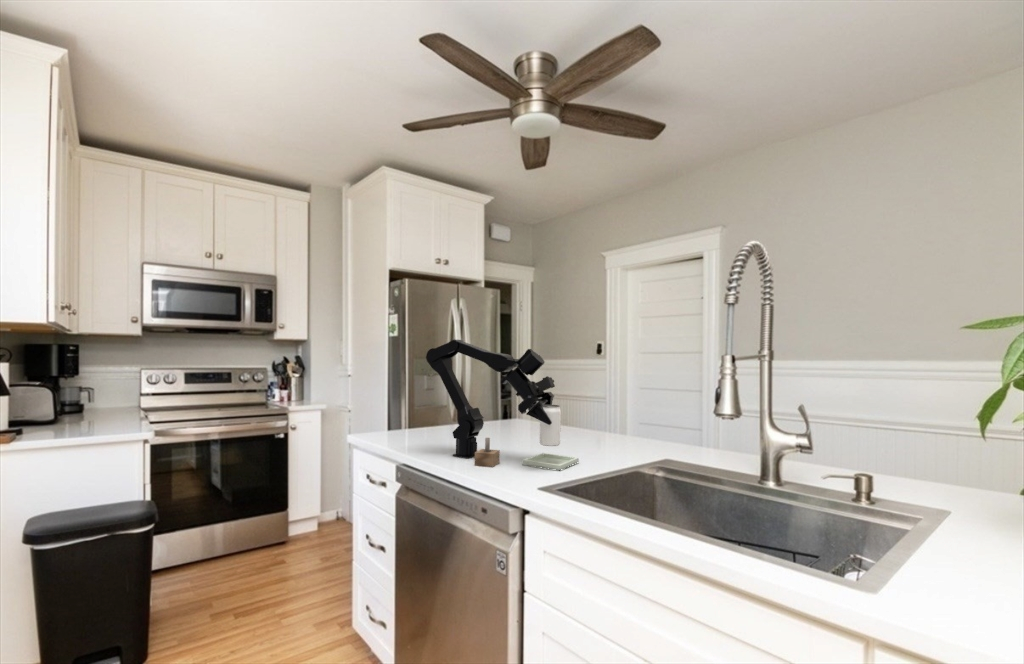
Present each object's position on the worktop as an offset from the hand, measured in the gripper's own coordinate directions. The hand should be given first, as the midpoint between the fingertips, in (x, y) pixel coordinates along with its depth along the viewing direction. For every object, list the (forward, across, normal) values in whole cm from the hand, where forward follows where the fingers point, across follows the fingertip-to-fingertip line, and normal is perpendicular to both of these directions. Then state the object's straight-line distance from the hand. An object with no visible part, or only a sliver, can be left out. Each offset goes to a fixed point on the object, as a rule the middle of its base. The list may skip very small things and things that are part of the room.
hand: (554, 422), depth 152 cm
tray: (+8, +1, +10) cm, 13 cm away
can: (+4, 0, +6) cm, 7 cm away
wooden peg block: (-4, -8, +23) cm, 25 cm away
